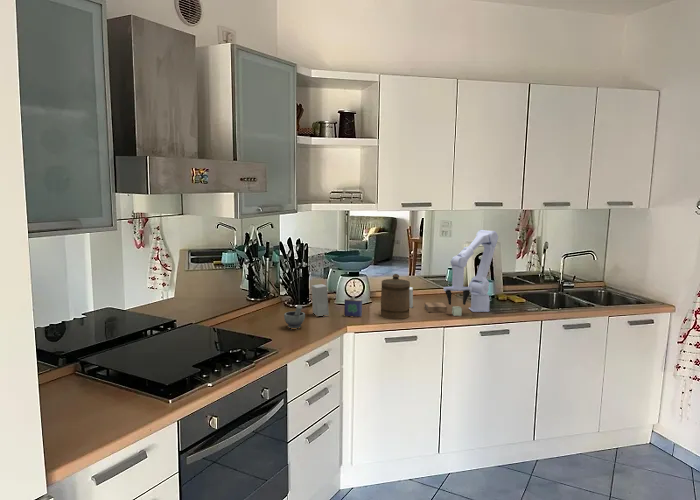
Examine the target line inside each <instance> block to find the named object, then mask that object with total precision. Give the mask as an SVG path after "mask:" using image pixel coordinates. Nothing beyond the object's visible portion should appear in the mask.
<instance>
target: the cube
mask: <svg viewBox="0 0 700 500" xmlns="http://www.w3.org/2000/svg"><path fill="white" fill-rule="evenodd" d="M462 311H463V308H462V307H461V306H452V307H451V315H453V316H454V317H456V316H460V317H461V316H462V315H463V313H462Z"/></svg>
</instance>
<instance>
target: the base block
mask: <svg viewBox="0 0 700 500" xmlns="http://www.w3.org/2000/svg"><path fill="white" fill-rule="evenodd" d="M424 309H425V310H426V312H427V313H447V312H448V306H447V305H446V304H445V303H444V302H424Z"/></svg>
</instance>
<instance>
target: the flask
mask: <svg viewBox="0 0 700 500" xmlns="http://www.w3.org/2000/svg"><path fill="white" fill-rule="evenodd" d="M355 298H356V296H355V295H353V296H351V297H347V298H344V313H343V314H344V315H345V316H344V317H346V316H353V317H352V318H362V317H363V300H362V299H355Z"/></svg>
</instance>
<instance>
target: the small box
mask: <svg viewBox="0 0 700 500" xmlns="http://www.w3.org/2000/svg"><path fill="white" fill-rule="evenodd" d="M413 288H414V287H413V286H412V287H411V286H410V293H409V297H410V308H411V309H412V308H413V307H414V306H413V305H414V302H413V301H414V289H413ZM410 308H409V309H410Z"/></svg>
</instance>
